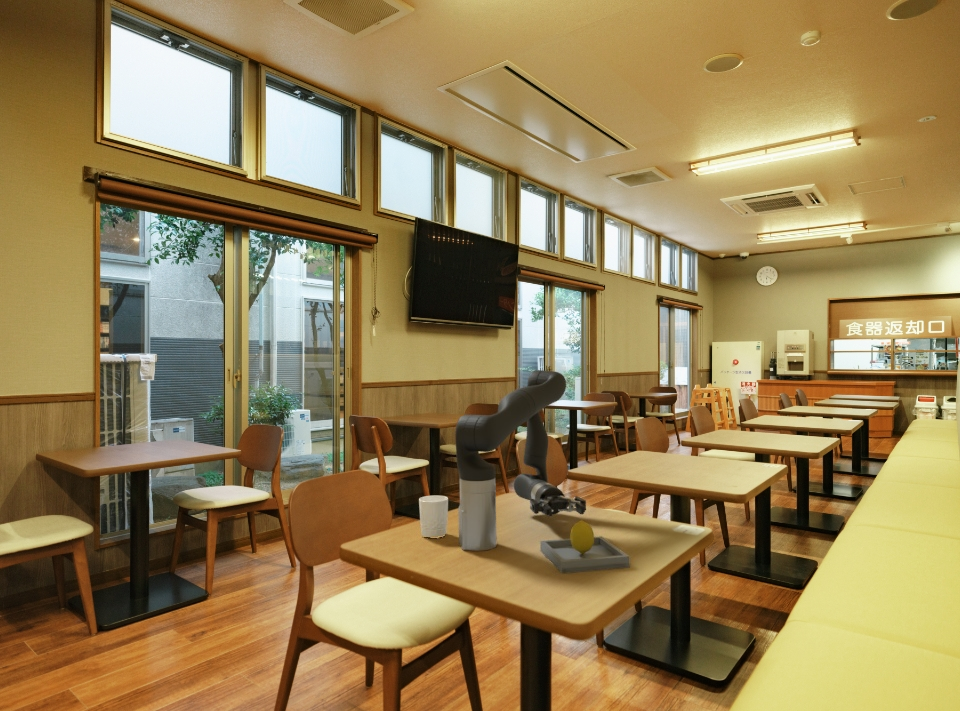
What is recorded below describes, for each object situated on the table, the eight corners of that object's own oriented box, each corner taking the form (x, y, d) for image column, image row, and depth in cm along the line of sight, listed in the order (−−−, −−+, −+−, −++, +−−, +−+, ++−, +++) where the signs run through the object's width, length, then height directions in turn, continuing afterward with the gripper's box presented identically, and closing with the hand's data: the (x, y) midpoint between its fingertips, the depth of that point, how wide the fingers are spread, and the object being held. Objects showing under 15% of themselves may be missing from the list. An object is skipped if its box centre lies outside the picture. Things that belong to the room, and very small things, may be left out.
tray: (561, 573, 130) (561, 561, 131) (540, 551, 146) (540, 540, 146) (629, 567, 134) (629, 556, 134) (601, 546, 149) (601, 536, 149)
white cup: (435, 541, 156) (434, 503, 156) (413, 536, 160) (412, 499, 161) (454, 534, 162) (453, 497, 162) (432, 529, 167) (432, 494, 167)
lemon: (568, 557, 138) (567, 522, 138) (573, 549, 144) (572, 516, 144) (592, 559, 136) (591, 524, 137) (596, 552, 142) (595, 518, 142)
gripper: (522, 485, 165) (539, 498, 150) (571, 482, 168) (592, 495, 152) (523, 512, 165) (540, 528, 149) (571, 509, 168) (593, 524, 152)
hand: (566, 511), depth 151 cm, fingers open, 8 cm apart
